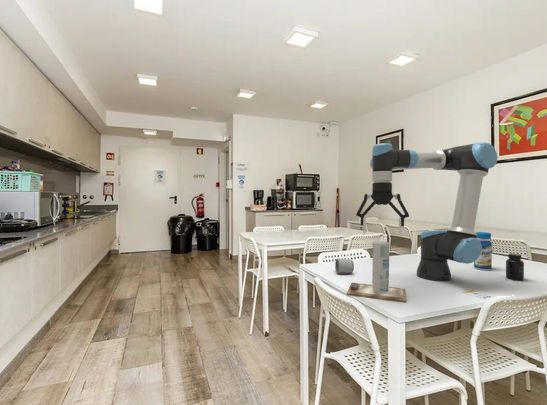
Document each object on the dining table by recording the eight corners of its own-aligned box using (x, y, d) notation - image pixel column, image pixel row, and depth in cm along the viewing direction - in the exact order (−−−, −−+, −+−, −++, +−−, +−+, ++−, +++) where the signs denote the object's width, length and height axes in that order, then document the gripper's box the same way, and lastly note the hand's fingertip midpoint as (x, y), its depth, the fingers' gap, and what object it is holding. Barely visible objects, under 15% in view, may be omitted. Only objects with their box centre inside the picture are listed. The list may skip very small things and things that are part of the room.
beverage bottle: (485, 267, 166) (486, 231, 165) (495, 271, 157) (496, 233, 157) (470, 266, 166) (470, 231, 166) (478, 270, 158) (479, 233, 157)
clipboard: (404, 290, 125) (404, 285, 125) (406, 302, 111) (406, 296, 111) (351, 284, 133) (351, 279, 133) (346, 294, 119) (346, 289, 119)
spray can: (382, 294, 117) (383, 244, 116) (368, 290, 122) (369, 242, 122) (392, 291, 121) (392, 242, 120) (378, 287, 126) (378, 240, 125)
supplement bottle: (519, 277, 145) (520, 253, 144) (526, 281, 138) (527, 256, 138) (503, 276, 147) (503, 252, 147) (509, 280, 141) (509, 255, 140)
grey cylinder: (354, 275, 148) (354, 259, 148) (338, 275, 148) (338, 260, 148) (348, 270, 159) (348, 255, 159) (333, 270, 159) (333, 255, 159)
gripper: (415, 181, 119) (414, 234, 120) (351, 182, 128) (351, 231, 129) (416, 181, 112) (416, 236, 113) (349, 182, 121) (349, 233, 122)
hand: (381, 234), depth 121 cm, fingers open, 13 cm apart
